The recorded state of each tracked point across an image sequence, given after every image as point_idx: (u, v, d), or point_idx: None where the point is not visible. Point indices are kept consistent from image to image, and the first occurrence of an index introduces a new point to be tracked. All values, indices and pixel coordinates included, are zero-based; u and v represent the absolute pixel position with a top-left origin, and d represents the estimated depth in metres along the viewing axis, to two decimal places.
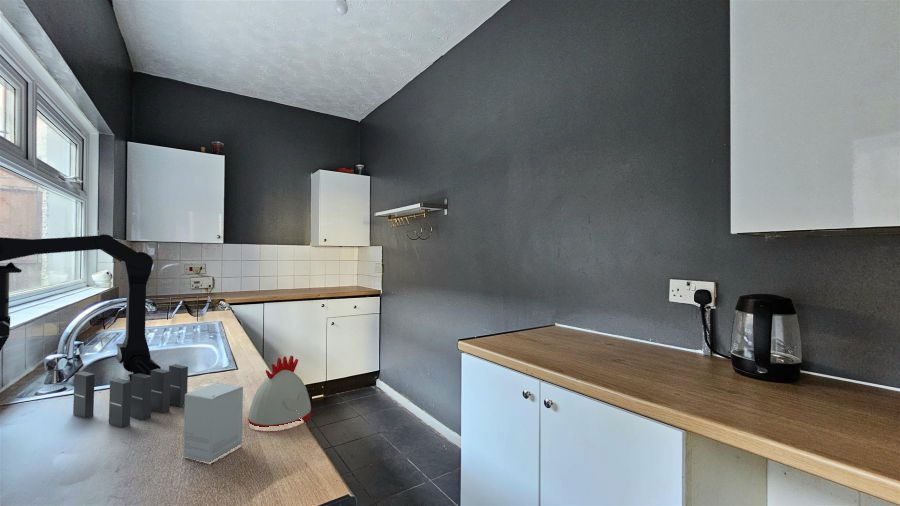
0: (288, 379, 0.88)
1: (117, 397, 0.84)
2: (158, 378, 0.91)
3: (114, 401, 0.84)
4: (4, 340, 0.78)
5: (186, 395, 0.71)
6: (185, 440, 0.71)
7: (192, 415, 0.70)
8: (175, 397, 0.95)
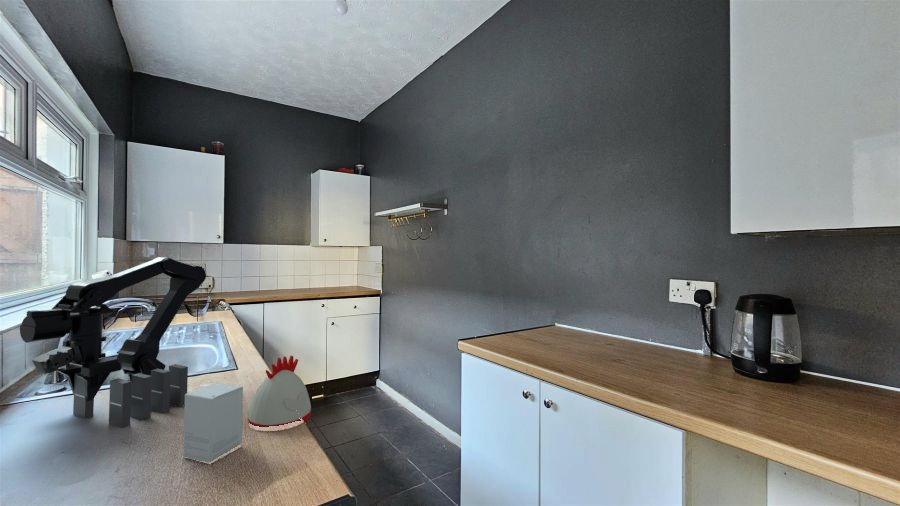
0: (288, 379, 0.88)
1: (117, 397, 0.84)
2: (158, 378, 0.91)
3: (114, 401, 0.84)
4: (108, 373, 0.89)
5: (186, 395, 0.71)
6: (185, 440, 0.71)
7: (192, 415, 0.70)
8: (175, 397, 0.95)
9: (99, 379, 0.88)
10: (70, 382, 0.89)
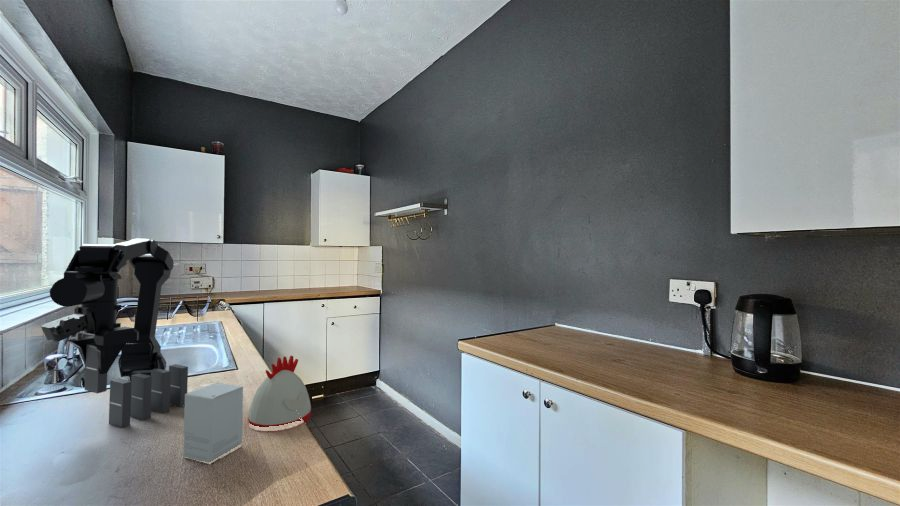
0: (288, 379, 0.88)
1: (117, 397, 0.84)
2: (158, 378, 0.91)
3: (114, 401, 0.84)
4: (123, 344, 0.81)
5: (186, 395, 0.71)
6: (185, 440, 0.71)
7: (192, 415, 0.70)
8: (175, 397, 0.95)
9: (113, 350, 0.80)
10: (82, 354, 0.81)
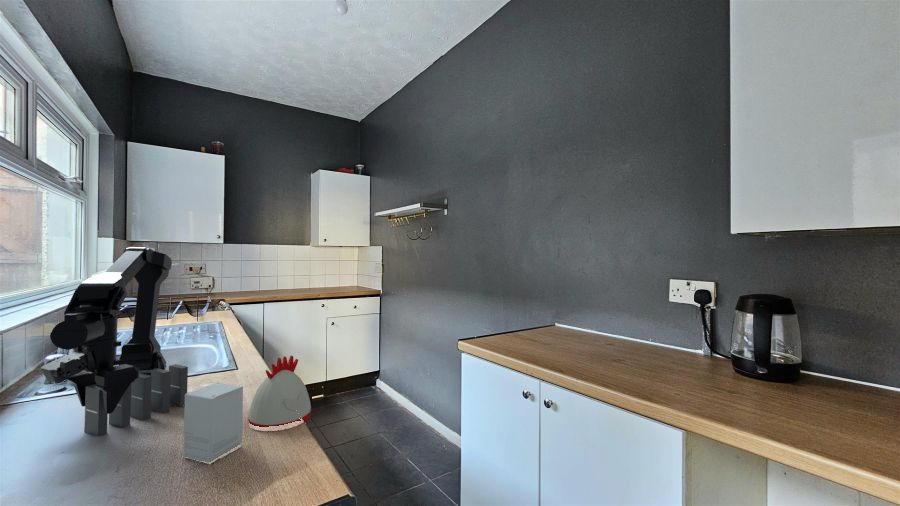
0: (288, 379, 0.88)
1: None
2: (158, 378, 0.91)
3: None
4: (129, 383, 0.80)
5: (186, 395, 0.71)
6: (185, 440, 0.71)
7: (192, 415, 0.70)
8: (175, 397, 0.95)
9: (119, 390, 0.79)
10: (77, 390, 0.81)
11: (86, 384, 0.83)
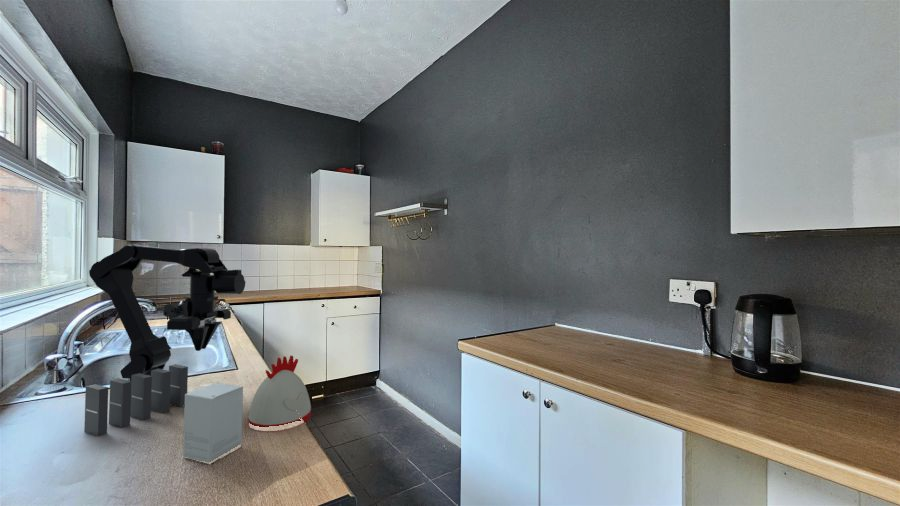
0: (288, 379, 0.88)
1: (117, 397, 0.84)
2: (158, 378, 0.91)
3: (114, 401, 0.84)
4: (202, 330, 0.99)
5: (186, 395, 0.71)
6: (185, 440, 0.71)
7: (192, 415, 0.70)
8: (175, 397, 0.95)
9: (199, 334, 0.99)
10: None
11: None
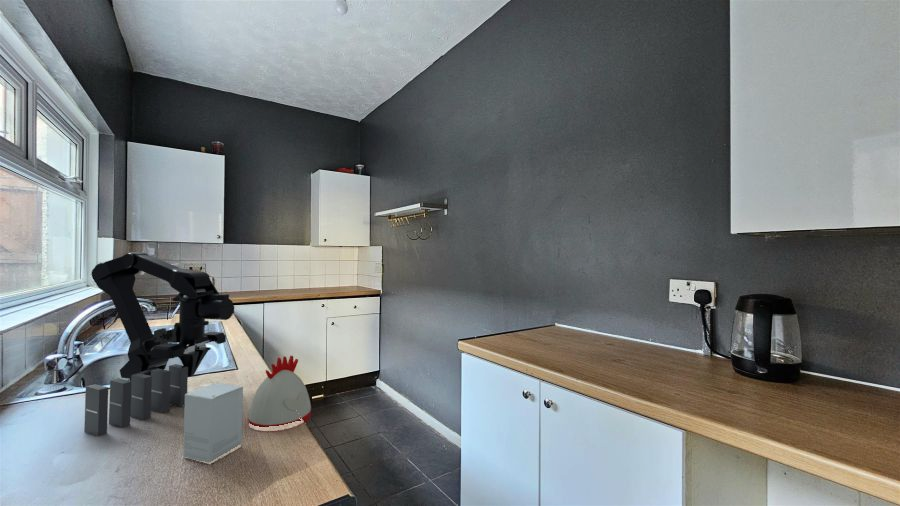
0: (288, 379, 0.88)
1: (117, 397, 0.84)
2: (158, 378, 0.91)
3: (114, 401, 0.84)
4: (192, 356, 0.97)
5: (186, 395, 0.71)
6: (185, 440, 0.71)
7: (192, 415, 0.70)
8: (175, 397, 0.95)
9: (189, 359, 0.98)
10: None
11: None
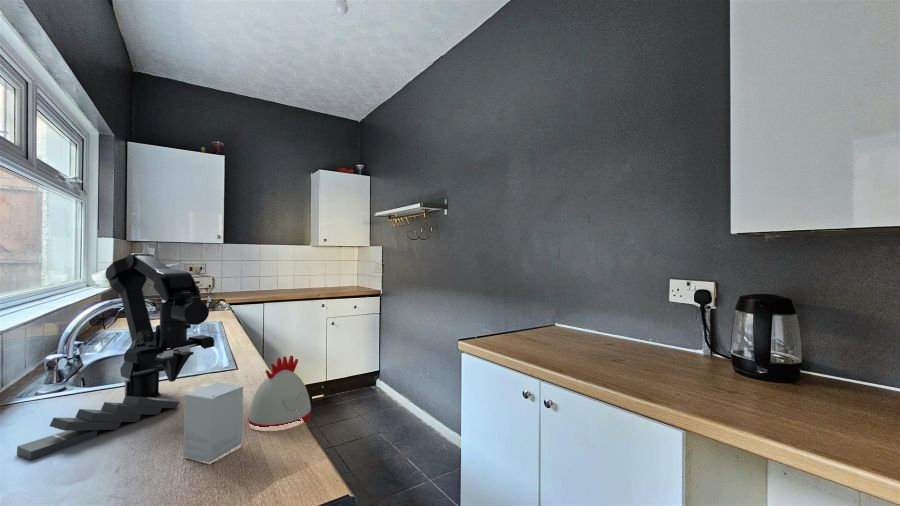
0: (288, 379, 0.88)
1: None
2: None
3: None
4: (168, 361, 0.92)
5: (186, 395, 0.71)
6: (185, 440, 0.71)
7: (192, 415, 0.70)
8: None
9: None
10: None
11: None
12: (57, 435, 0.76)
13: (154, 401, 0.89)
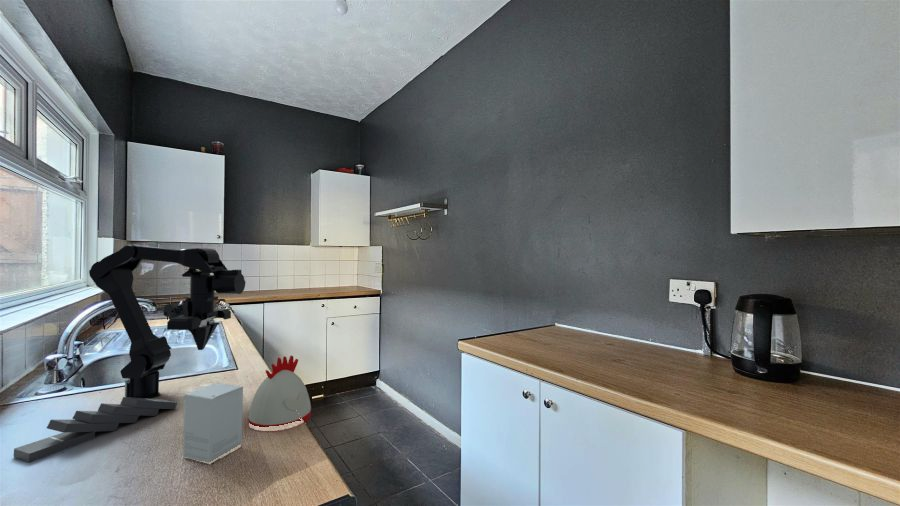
0: (288, 379, 0.88)
1: None
2: None
3: None
4: (205, 329, 0.99)
5: (186, 395, 0.71)
6: (185, 440, 0.71)
7: (192, 415, 0.70)
8: None
9: (201, 333, 1.00)
10: None
11: None
12: (54, 437, 0.75)
13: (152, 402, 0.88)
